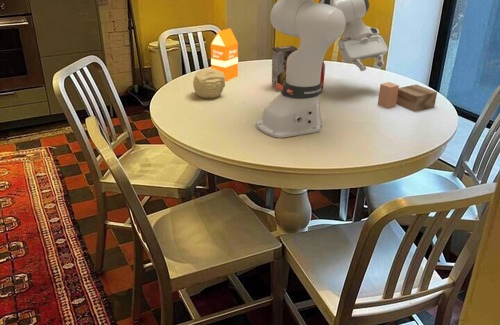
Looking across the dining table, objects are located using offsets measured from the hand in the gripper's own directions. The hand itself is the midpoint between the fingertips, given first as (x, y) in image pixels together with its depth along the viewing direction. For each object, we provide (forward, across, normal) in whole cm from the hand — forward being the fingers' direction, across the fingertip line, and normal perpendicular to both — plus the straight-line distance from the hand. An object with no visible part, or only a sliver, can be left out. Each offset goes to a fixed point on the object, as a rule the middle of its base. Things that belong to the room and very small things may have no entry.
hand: (373, 68), depth 177 cm
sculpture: (-16, -50, +34) cm, 62 cm away
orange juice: (-28, -33, +46) cm, 63 cm away
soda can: (-5, -11, +22) cm, 25 cm away
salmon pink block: (+15, 0, +2) cm, 15 cm away
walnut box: (+18, +9, -1) cm, 20 cm away
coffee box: (-11, -20, +28) cm, 36 cm away
